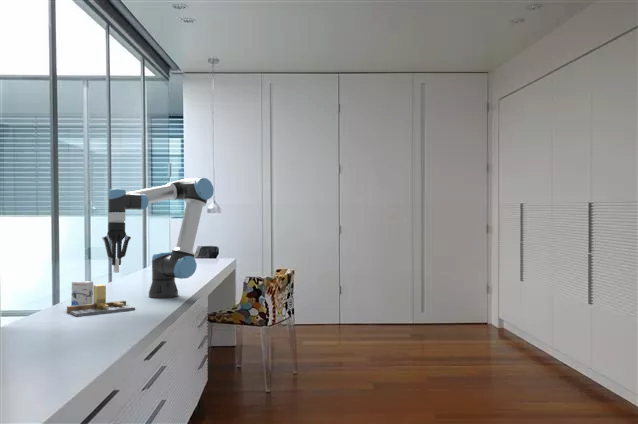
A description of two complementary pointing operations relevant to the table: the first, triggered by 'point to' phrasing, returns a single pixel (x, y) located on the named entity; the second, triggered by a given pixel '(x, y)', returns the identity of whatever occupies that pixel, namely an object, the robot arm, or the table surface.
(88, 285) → the ink box
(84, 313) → the gray rectangular panel
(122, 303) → the beam
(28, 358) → the table surface
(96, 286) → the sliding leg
